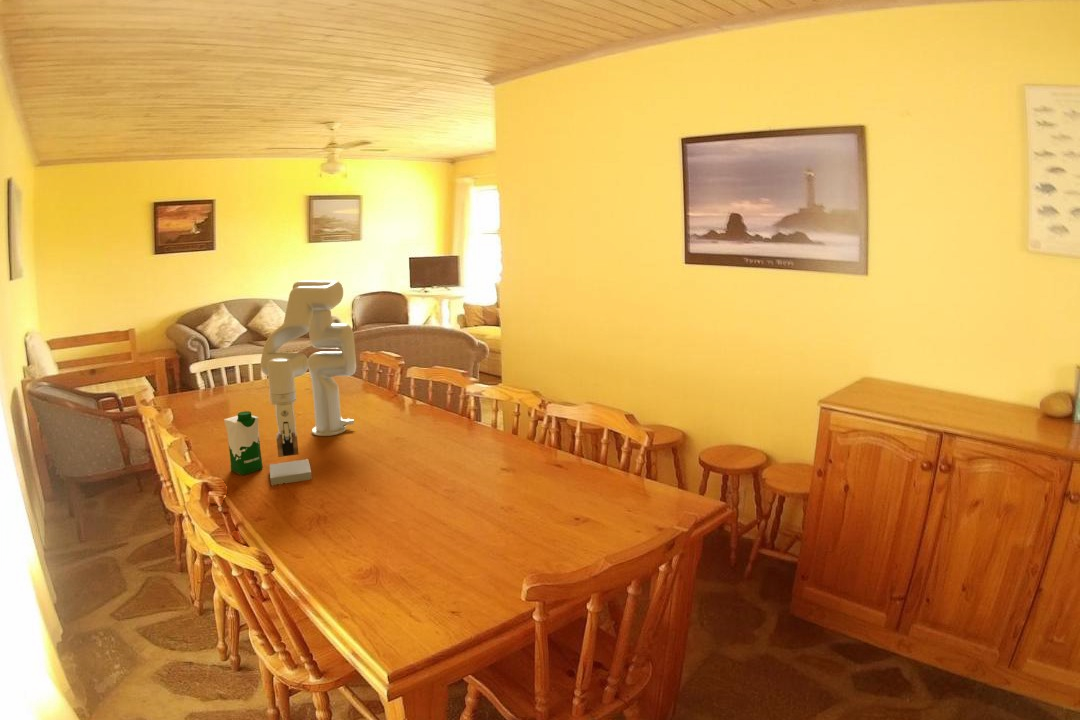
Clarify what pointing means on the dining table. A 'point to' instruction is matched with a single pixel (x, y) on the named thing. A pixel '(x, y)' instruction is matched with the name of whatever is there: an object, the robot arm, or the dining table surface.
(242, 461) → the soya milk
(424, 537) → the dining table surface
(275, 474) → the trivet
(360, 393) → the dining table surface
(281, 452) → the walnut block
